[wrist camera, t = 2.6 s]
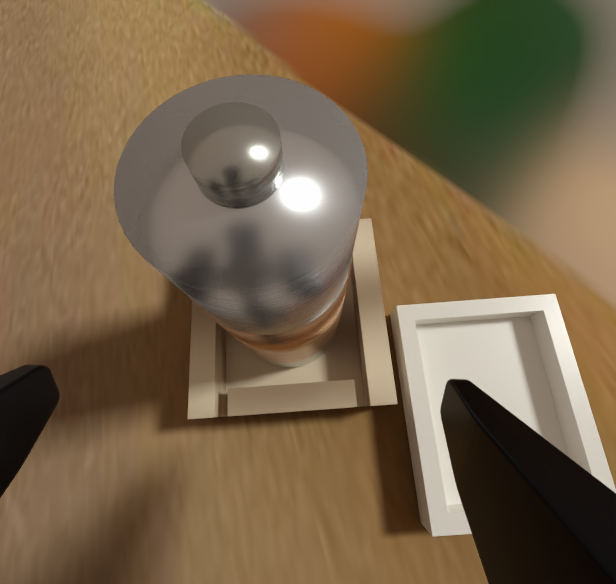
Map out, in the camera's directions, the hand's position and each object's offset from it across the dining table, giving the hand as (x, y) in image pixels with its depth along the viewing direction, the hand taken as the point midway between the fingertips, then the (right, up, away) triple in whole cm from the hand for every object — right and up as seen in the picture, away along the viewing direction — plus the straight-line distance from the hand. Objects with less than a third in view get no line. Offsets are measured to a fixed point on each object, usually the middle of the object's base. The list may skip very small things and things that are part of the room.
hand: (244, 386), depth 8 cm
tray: (+10, -4, +10) cm, 15 cm away
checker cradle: (+1, 0, +12) cm, 12 cm away
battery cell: (+1, +1, +11) cm, 11 cm away
